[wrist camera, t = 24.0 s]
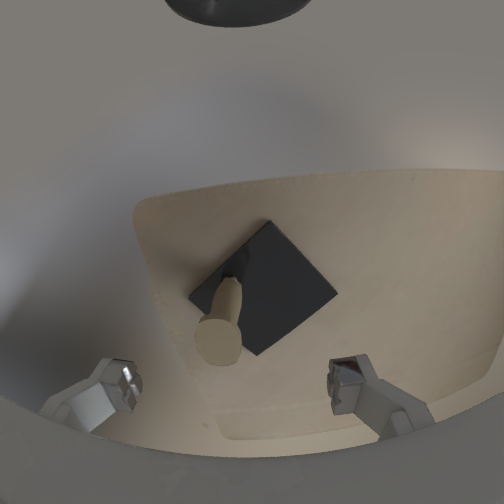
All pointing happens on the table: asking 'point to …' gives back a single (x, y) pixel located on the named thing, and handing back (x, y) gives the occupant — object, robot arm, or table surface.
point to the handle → (221, 326)
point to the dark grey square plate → (269, 288)
